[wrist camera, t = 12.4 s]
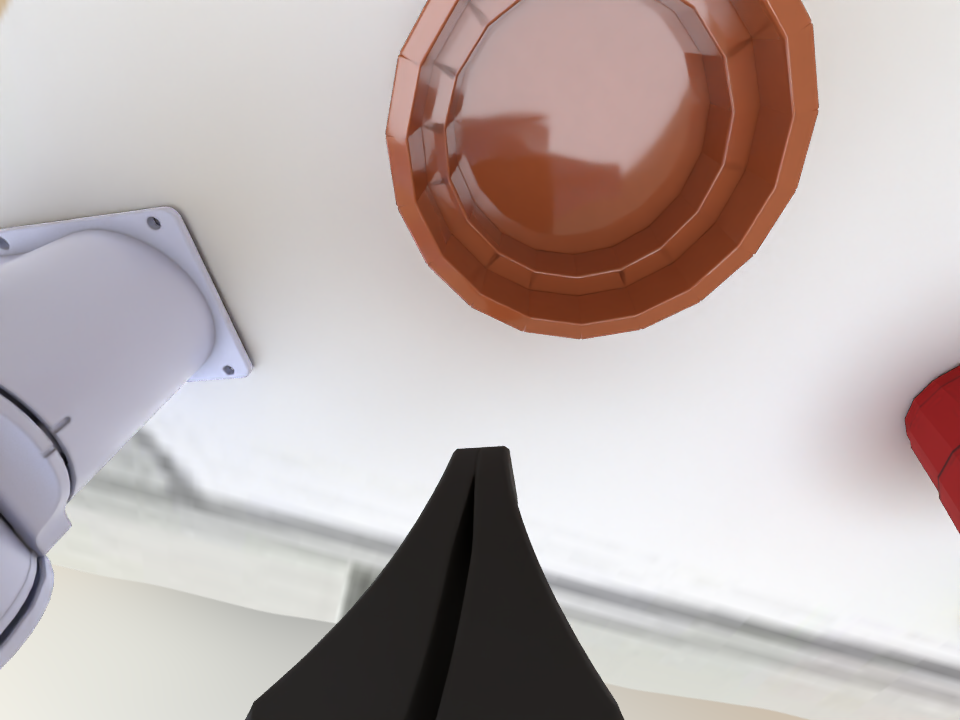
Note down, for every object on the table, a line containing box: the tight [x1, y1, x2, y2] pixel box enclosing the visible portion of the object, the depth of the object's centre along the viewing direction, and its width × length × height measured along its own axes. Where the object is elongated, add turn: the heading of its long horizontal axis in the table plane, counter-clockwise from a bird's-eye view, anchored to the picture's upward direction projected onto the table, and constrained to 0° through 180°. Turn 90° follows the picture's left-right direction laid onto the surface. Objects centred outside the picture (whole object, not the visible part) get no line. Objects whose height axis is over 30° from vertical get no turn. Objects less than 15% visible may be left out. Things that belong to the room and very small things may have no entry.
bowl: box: [385, 0, 819, 339], centre depth 15 cm, size 11×11×5 cm
